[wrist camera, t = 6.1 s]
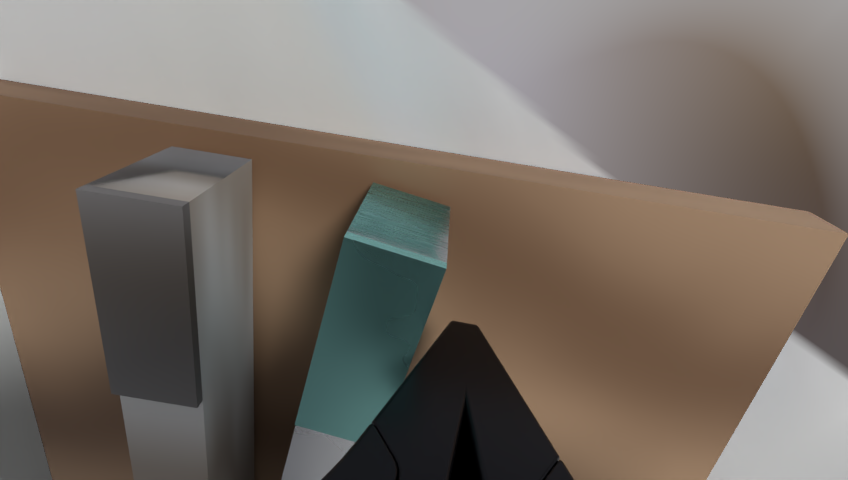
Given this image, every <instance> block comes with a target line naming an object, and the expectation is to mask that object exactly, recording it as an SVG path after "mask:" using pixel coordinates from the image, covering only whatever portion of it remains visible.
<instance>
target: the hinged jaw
mask: <svg viewBox="0 0 848 480" xmlns="http://www.w3.org/2000/svg"><path fill="white" fill-rule="evenodd" d="M449 221H450V207H449V206H446V205H443V204H440V203H437V202H433V201H430V200H427V199H424V198H421V197H418V196H415V195H411V194H408V193H405V192H402V191H399V190H396V189H393V188H389V187H386V186H383V185H380V184H377V183H374V182H373V184H372V186H371V187H370V189H369V191H368V193H367V195H366V197H365V199H364V200H363V202H362V204H361V206H360V208H359V210H358V212H357V214H356V215H355V217H354V219H353V221H352V223H351V225H350V227H349V228H348V230H347V232H346V234H345V236H344V239H343V242H342V246H341V250H340V254H339V258H338V261H337V265H336V269H335V273H334V277H333V280H332V284H331V288H330V292H329V296H328V299H327V303H326V307H325V311H324V315H323V319H322V322H321V326H320V330H319V334H318V338H317V341H316V345H315V349H314V353H313V357H312V360H311V364H310V368H309V372H308V376H307V379H306V383H305V387H304V391H303V395H302V398H301V402H300V406H299V410H298V414H297V418H296V421H295V425H296V426H295V430H294V433H293V437H292V441H291V445H290V449H289V452H288V456H287V460H286V464H285V468H284V471H283V475H282V479H281V480H321V479H322V478H323V477H324V476H325V475H326V474H327V473H328V472H329V471H330V470H331V469H332V468H333V467H334V466H335V465H336V464H337V463H338V462H339V461H340V460H341V458H342V457H343V456H344V455H345V454H346V453H347V451H348V450H349V449H350V448H351V447H352V446H353V444H354V443H355V442H356V441H357V440H358V438H359V437H360V436H361V435H362V433H363V432H364V431H365V429H366V428H367V427H368V426H369V425H370V424H371V423H372V421H373V420H374V418H375V417H376V416H377V414H378V413H379V412H380V411H381V409H382V408H383V407H384V406H385V404H386V403H387V402H388V400H389V399H390V398H391V397H392V395H393V394H394V393H395V391H396V390H397V389H398V388H399V386H400V385H401V384H402V383H403V381H404V380H405V377H406V374H407V372H408V369H409V366H410V364H411V361H412V359H413V356H414V353H415V351H416V348H417V345H418V343H419V340H420V338H421V335H422V332H423V330H424V327H425V324H426V322H427V319H428V316H429V314H430V311H431V309H432V306H433V303H434V301H435V298H436V295H437V293H438V290H439V287H440V285H441V282H442V280H443V277H444V274H445V272H446V269H447V254H448V237H449Z"/></svg>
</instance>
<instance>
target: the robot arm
mask: <svg viewBox="0 0 848 480" xmlns="http://www.w3.org/2000/svg"><path fill="white" fill-rule="evenodd" d="M321 480H574V479H573V477H572V476H571V474H570V472H569V471H568V469H567V467H566V466H565V464H564V463H563V461H561V460H560V457H559V455H558V453H557V452H556V450H555V449H554V447H553V445H552V444H551V442H550V441H549V439H548V437H547V436H546V434H545V432H544V431H543V429H542V428H541V426H540V424H539V423H538V421H537V420H536V418H535V416H534V415H533V413H532V412H531V410H530V408H529V407H528V405H527V404H526V402H525V400H524V399H523V397H522V396H521V394H520V392H519V391H518V389H517V387H516V386H515V384H514V383H513V381H512V379H511V378H510V376H509V375H508V373H507V371H506V370H505V368H504V367H503V365H502V363H501V362H500V360H499V359H498V357H497V355H496V354H495V352H494V351H493V349H492V347H491V346H490V344H489V343H488V341H487V339H486V338H485V336H484V334H483V333H482V331H481V330H480V328H479V327H478V326H477V325H475V324H469V323H464V322H459V321H451V322H450V323H449V324H448V325H447V326H446V328H445V329H444V330H443V331H442V333H441V334H440V335H439V337H438V338H437V339H436V340H435V342H434V343H433V344H432V346H431V347H430V348H429V349H428V351H427V352H426V353H425V354H424V356H423V357H422V358H421V360H420V361H419V362H418V363H417V365H416V366H415V367H414V369H413V370H412V371H411V372H410V374H409V375H408V376H407V377H406V379H405V380H404V381H403V383H402V384H401V385H400V386H399V388H398V389H397V390H396V391H395V393H394V394H393V395H392V397H391V398H390V399H389V400H388V402H387V403H386V404H385V406H384V407H383V408H382V409H381V411H380V412H379V413H378V414H377V416H376V417H375V418H374V420H373V421H372V423H371V424H370V425H369V426H368V427H367V428H366V429H365V431H364V432H363V433H362V435H361V436H360V437H359V438H358V440H357V441H356V442H355V443H354V444H353V446H352V447H351V448H350V449H349V450H348V451H347V453H346V454H345V455H344V456H343V457H342V458H341V460H340V461H339V462H338V463H337V464H336V465H335V466H334V467H333V468H332V469H331V470H330V471H329V472H328V473H327V474H326V475H325V476H324V477H323V478H322V479H321Z"/></svg>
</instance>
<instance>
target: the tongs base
mask: <svg viewBox="0 0 848 480" xmlns="http://www.w3.org/2000/svg"><path fill="white" fill-rule="evenodd" d="M373 182H374V183H377V184H380V185H383V186H386V187H389V188H393V189H396V190H399V191H402V192H405V193H408V194H411V195H415V196H418V197H421V198H424V199H427V200H430V201H433V202H437V203H440V204H443V205H446V206H449V207H450V221H449V237H448V254H447V269H446V272H445V274H444V277H443V280H442V282H441V285H440V287H439V290H438V293H437V295H436V298H435V301H434V303H433V306H432V309H431V311H430V314H429V316H428V319H427V322H426V324H425V327H424V330H423V332H422V335H421V338H420V340H419V343H418V345H417V348H416V351H415V353H414V356H413V359H412V361H411V364H410V366H409V369H408V372H407V374H406V377H407V376H408V375H409V374H410V372H411V371H412V370H413V369H414V367H415V366H416V365H417V363H418V362H419V361H420V360H421V358H422V357H423V356H424V354H425V353H426V352H427V351H428V349H429V348H430V347H431V346H432V344H433V343H434V342H435V340H436V339H437V338H438V337H439V335H440V334H441V333H442V331H443V330H444V329H445V328H446V326H447V325H448V324H449V323H450V322H451V321H459V322H464V323H469V324H475V325H477V326H478V327H479V328H480V330H481V331H482V333H483V334H484V336H485V338H486V339H487V341H488V343H489V344H490V346H491V347H492V349H493V351H494V352H495V354H496V355H497V357H498V359H499V360H500V362H501V363H502V365H503V367H504V368H505V370H506V371H507V373H508V375H509V376H510V378H511V379H512V381H513V383H514V384H515V386H516V387H517V389H518V391H519V392H520V394H521V396H522V397H523V399H524V400H525V402H526V404H527V405H528V407H529V408H530V410H531V412H532V413H533V415H534V416H535V418H536V420H537V421H538V423H539V424H540V426H541V428H542V429H543V431H544V432H545V434H546V436H547V437H548V439H549V441H550V442H551V444H552V445H553V447H554V449H555V450H556V452H557V453H558V455H559V457H560V460H561V461H563V463H564V464H565V466H566V467H567V469H568V471H569V472H570V474H571V476H572V477H573V479H574V480H706V479H707V477H708V476H709V474H710V472H711V470H712V469H713V467H714V465H715V464H716V462H717V460H718V458H719V457H720V455H721V453H722V452H723V450H724V448H725V446H726V445H727V443H728V441H729V440H730V438H731V436H732V434H733V433H734V431H735V429H736V427H737V426H738V424H739V422H740V421H741V419H742V417H743V415H744V414H745V412H746V410H747V409H748V407H749V405H750V403H751V402H752V400H753V398H754V397H755V395H756V393H757V391H758V390H759V388H760V386H761V385H762V383H763V381H764V379H765V378H766V376H767V374H768V372H769V371H770V369H771V367H772V366H773V364H774V362H775V360H776V359H777V357H778V355H779V354H780V352H781V350H782V348H783V347H784V345H785V343H786V342H787V340H788V338H789V336H790V335H791V333H792V331H793V329H794V328H795V326H796V324H797V322H798V321H799V319H800V317H801V316H802V314H803V312H804V311H805V309H806V307H807V305H808V304H809V302H810V300H811V298H812V297H813V295H814V293H815V292H816V290H817V288H818V286H819V285H820V283H821V281H822V280H823V278H824V276H825V274H826V273H827V271H828V269H829V268H830V266H831V264H832V262H833V261H834V259H835V257H836V256H837V254H838V252H839V250H840V249H841V247H842V245H843V243H844V242H845V240H846V238H847V236H848V233H846V232H845V231H842V230H841V229H839V228H837V227H836V226H834V225H832V224H830V223H828V222H827V221H825V220H823V219H821V218H820V217H818V216H816V215H814V214H812V213H810V212H808V211H802V210H796V209H790V208H783V207H778V206H772V205H766V204H759V203H753V202H747V201H741V200H735V199H729V198H722V197H717V196H710V195H704V194H698V193H692V192H686V191H680V190H674V189H667V188H661V187H655V186H649V185H643V184H637V183H631V182H624V181H619V180H613V179H606V178H600V177H594V176H588V175H582V174H576V173H570V172H564V171H558V170H551V169H545V168H539V167H533V166H527V165H521V164H515V163H509V162H502V161H496V160H490V159H484V158H478V157H472V156H466V155H460V154H454V153H447V152H441V151H435V150H429V149H423V148H417V147H411V146H405V145H398V144H392V143H386V142H380V141H374V140H368V139H362V138H356V137H349V136H343V135H337V134H331V133H325V132H319V131H313V130H307V129H301V128H294V127H288V126H282V125H276V124H270V123H264V122H258V121H252V120H245V119H239V118H233V117H227V116H221V115H215V114H209V113H203V112H196V111H190V110H184V109H178V108H172V107H166V106H160V105H154V104H148V103H141V102H135V101H129V100H123V99H117V98H111V97H105V96H99V95H92V94H86V93H80V92H74V91H68V90H62V89H56V88H50V87H44V86H37V85H31V84H25V83H19V82H13V81H7V80H1V79H0V288H1V292H2V296H3V299H4V303H5V307H6V310H7V314H8V318H9V321H10V325H11V329H12V332H13V336H14V340H15V344H16V347H17V351H18V355H19V358H20V362H21V366H22V369H23V373H24V377H25V380H26V384H27V388H28V391H29V395H30V399H31V402H32V406H33V410H34V414H35V417H36V421H37V425H38V428H39V432H40V436H41V439H42V443H43V447H44V450H45V454H46V458H47V461H48V465H49V469H50V473H51V476H52V480H281V479H282V475H283V471H284V468H285V464H286V460H287V456H288V452H289V449H290V445H291V441H292V437H293V433H294V430H295V426H296V425H295V421H296V418H297V414H298V410H299V406H300V402H301V398H302V395H303V391H304V387H305V383H306V379H307V376H308V372H309V368H310V364H311V360H312V357H313V353H314V349H315V345H316V341H317V338H318V334H319V330H320V326H321V322H322V319H323V315H324V311H325V307H326V303H327V299H328V296H329V292H330V288H331V284H332V280H333V277H334V273H335V269H336V265H337V261H338V258H339V254H340V250H341V246H342V242H343V239H344V236H345V234H346V232H347V230H348V228H349V227H350V225H351V223H352V221H353V219H354V217H355V215H356V214H357V212H358V210H359V208H360V206H361V204H362V202H363V200H364V199H365V197H366V195H367V193H368V191H369V189H370V187H371V186H372V184H373ZM406 377H405V379H406Z"/></svg>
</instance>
